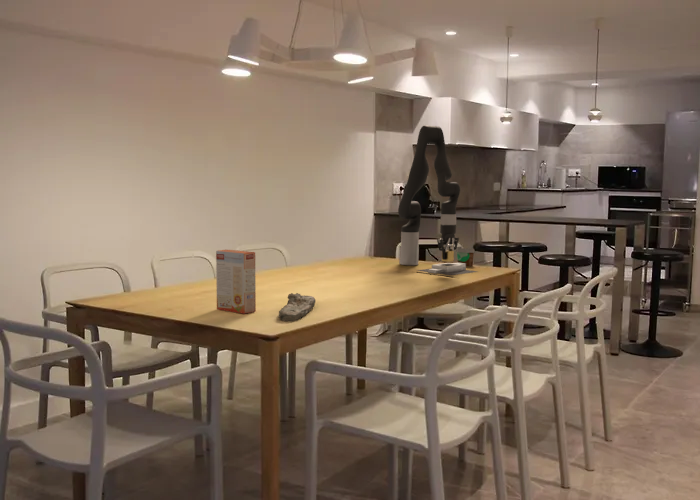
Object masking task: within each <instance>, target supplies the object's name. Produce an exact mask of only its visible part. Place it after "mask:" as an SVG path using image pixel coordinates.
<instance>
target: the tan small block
mask: <svg viewBox="0 0 700 500" xmlns="http://www.w3.org/2000/svg"><path fill="white" fill-rule="evenodd" d="M454 254H455V250H454V251H449V249H447V260H443V259H442V258H441V262H445V263H452V262H455V261H454V260H455V259H454Z"/></svg>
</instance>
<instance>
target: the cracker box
mask: <svg viewBox="0 0 700 500" xmlns="http://www.w3.org/2000/svg"><path fill="white" fill-rule="evenodd" d="M215 253H216V254H215V255H216V256H215V263H216V269H215V270H216V271H215V272H216V310H219V311H225V312H232V313H236V314H241V315H245V314H250V313H251V314H252V313H255V312H256V309H257V308H256V300H257V299H256V297H257V296H256V294H257V293H256V288H257V286H256V252H255V251H247V250H246V251H245V250H236V249H218V250H216V252H215Z"/></svg>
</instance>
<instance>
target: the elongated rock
mask: <svg viewBox="0 0 700 500" xmlns="http://www.w3.org/2000/svg"><path fill="white" fill-rule="evenodd" d="M287 299H288V300H287V304H286V305H284V306H283V307H282V308H281V309H280V310H279V312H278V319H280V321H282V322H296V321H298V320H299V319H301V318H302V317H305V316H306V315H307V314H308V313H310V312H311V310H312V309H314V307H315V305H316V301H317V300H316V299H315V296H312V295H304V294H303V295H302V294H301V293H297V292H296V293H292V292H291V293H289V294H288V296H287Z"/></svg>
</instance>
